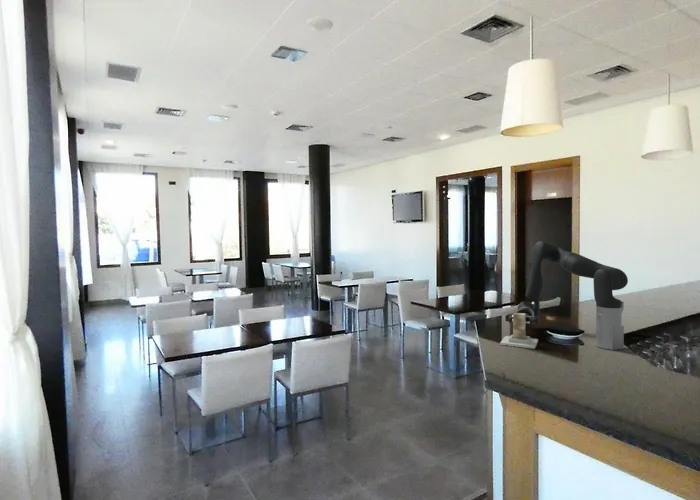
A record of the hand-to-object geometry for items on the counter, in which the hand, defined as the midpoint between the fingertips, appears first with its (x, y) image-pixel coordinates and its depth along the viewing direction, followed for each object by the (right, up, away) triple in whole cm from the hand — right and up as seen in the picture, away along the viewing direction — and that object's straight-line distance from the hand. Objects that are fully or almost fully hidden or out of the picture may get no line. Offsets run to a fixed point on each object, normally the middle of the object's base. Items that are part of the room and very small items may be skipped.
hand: (520, 321), depth 190 cm
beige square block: (-1, -8, -2) cm, 9 cm away
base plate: (-1, -9, -2) cm, 10 cm away
